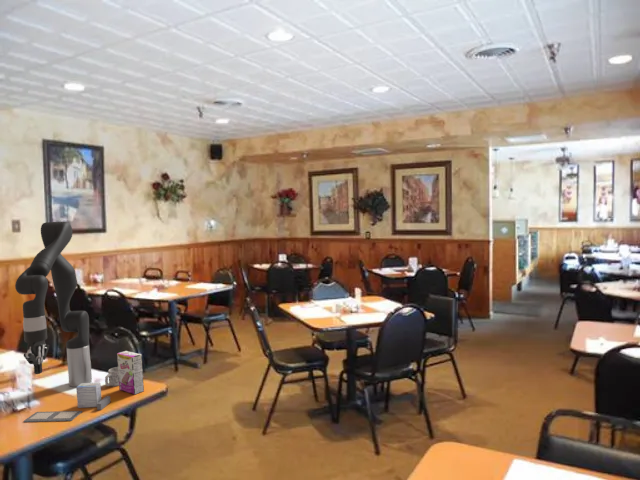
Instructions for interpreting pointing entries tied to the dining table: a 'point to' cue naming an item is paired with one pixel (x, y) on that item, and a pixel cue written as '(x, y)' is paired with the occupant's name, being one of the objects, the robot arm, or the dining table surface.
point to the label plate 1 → (40, 416)
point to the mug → (112, 377)
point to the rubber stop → (103, 403)
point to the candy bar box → (130, 372)
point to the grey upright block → (88, 394)
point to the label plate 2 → (65, 416)
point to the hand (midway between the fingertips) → (38, 373)
